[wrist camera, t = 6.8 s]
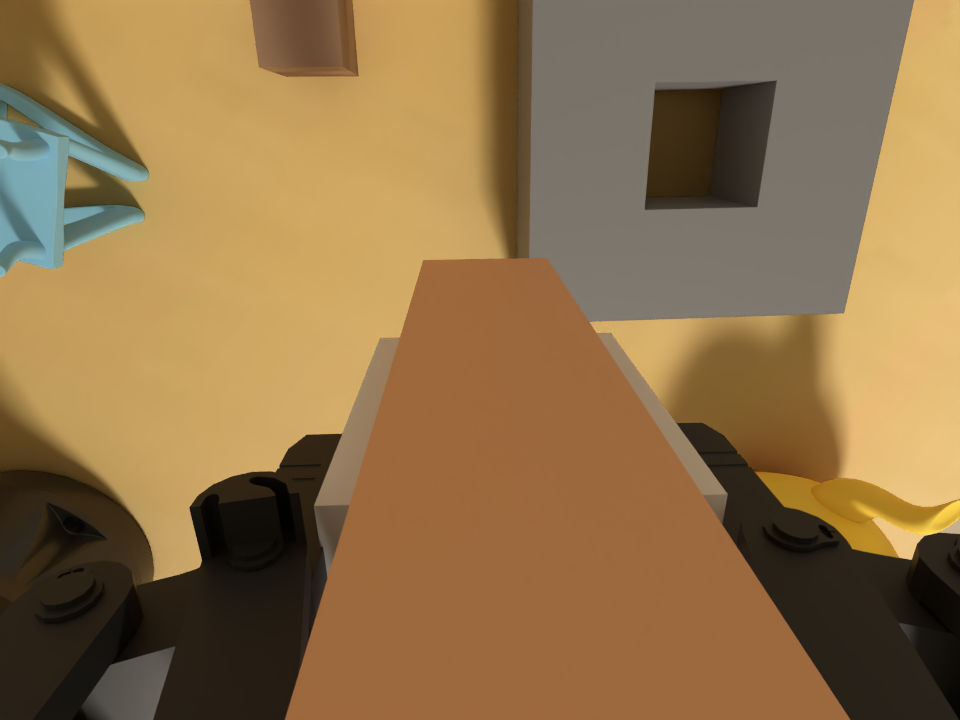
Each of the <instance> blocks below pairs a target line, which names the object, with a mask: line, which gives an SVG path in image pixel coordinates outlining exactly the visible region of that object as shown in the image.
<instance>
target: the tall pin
mask: <svg viewBox="0 0 960 720" xmlns="http://www.w3.org/2000/svg"><path fill="white" fill-rule="evenodd" d="M285 720H850V719H849V717H848V715H847V714H846V712H845V711H844V709H843V708H842V706H841V705H840V703H839V702H838V700H837V699H836V697H835V696H834V694H833V693H832V691H831V690H830V688H829V687H828V685H827V683H826V682H825V680H824V679H823V677H822V676H821V674H820V673H819V671H818V670H817V668H816V667H815V665H814V664H813V662H812V661H811V659H810V658H809V656H808V655H807V653H806V652H805V650H804V648H803V647H802V645H801V644H800V642H799V641H798V639H797V638H796V636H795V635H794V633H793V632H792V630H791V629H790V627H789V626H788V624H787V623H786V621H785V620H784V618H783V616H782V615H781V613H780V612H779V610H778V609H777V607H776V606H775V604H774V603H773V601H772V600H771V598H770V597H769V595H768V594H767V592H766V591H765V589H764V588H763V586H762V584H761V583H760V581H759V580H758V578H757V577H756V575H755V574H754V572H753V571H752V569H751V568H750V566H749V565H748V563H747V562H746V560H745V559H744V557H743V556H742V554H741V553H740V551H739V549H738V548H737V546H736V545H735V543H734V542H733V540H732V539H731V537H730V536H729V534H728V533H727V531H726V530H725V528H724V527H723V525H722V524H721V522H720V521H719V519H718V517H717V516H716V514H715V513H714V511H713V510H712V508H711V507H710V505H709V504H708V502H707V501H706V499H705V498H704V496H703V495H702V493H701V492H700V490H699V489H698V487H697V485H696V484H695V482H694V481H693V479H692V478H691V476H690V475H689V473H688V472H687V470H686V469H685V467H684V466H683V464H682V463H681V461H680V460H679V458H678V457H677V455H676V454H675V452H674V450H673V449H672V447H671V446H670V444H669V443H668V441H667V440H666V438H665V437H664V435H663V434H662V432H661V431H660V429H659V428H658V426H657V425H656V423H655V422H654V420H653V418H652V417H651V415H650V414H649V412H648V411H647V409H646V408H645V406H644V405H643V403H642V402H641V400H640V399H639V397H638V396H637V394H636V393H635V391H634V390H633V388H632V386H631V385H630V383H629V382H628V380H627V379H626V377H625V376H624V374H623V373H622V371H621V370H620V368H619V367H618V365H617V364H616V362H615V361H614V359H613V358H612V356H611V355H610V353H609V351H608V350H607V348H606V347H605V345H604V344H603V342H602V341H601V339H600V338H599V336H598V335H597V333H596V332H595V330H594V329H593V327H592V326H591V324H590V323H589V321H588V319H587V318H586V316H585V315H584V313H583V312H582V310H581V309H580V307H579V306H578V304H577V303H576V301H575V300H574V298H573V297H572V295H571V294H570V292H569V291H568V289H567V287H566V286H565V284H564V283H563V281H562V280H561V278H560V277H559V275H558V274H557V272H556V271H555V269H554V268H553V266H552V265H551V263H550V262H549V260H548V259H547V258H517V259H466V260H423V263H422V267H421V270H420V273H419V276H418V280H417V283H416V286H415V290H414V293H413V296H412V300H411V303H410V306H409V310H408V313H407V316H406V320H405V323H404V326H403V330H402V333H401V336H400V340H399V343H398V346H397V350H396V353H395V356H394V359H393V363H392V366H391V369H390V373H389V376H388V379H387V383H386V386H385V389H384V393H383V396H382V399H381V403H380V406H379V409H378V413H377V416H376V419H375V423H374V426H373V429H372V432H371V436H370V439H369V442H368V446H367V449H366V452H365V456H364V459H363V462H362V466H361V469H360V472H359V476H358V479H357V482H356V486H355V489H354V492H353V496H352V499H351V502H350V505H349V509H348V512H347V515H346V519H345V522H344V525H343V529H342V532H341V535H340V539H339V542H338V545H337V549H336V552H335V555H334V559H333V562H332V565H331V569H330V572H329V575H328V578H327V582H326V585H325V588H324V592H323V595H322V598H321V602H320V605H319V608H318V612H317V615H316V618H315V622H314V625H313V628H312V632H311V635H310V638H309V642H308V645H307V648H306V651H305V655H304V658H303V661H302V665H301V668H300V671H299V675H298V678H297V681H296V685H295V688H294V691H293V695H292V698H291V701H290V705H289V708H288V711H287V715H286V718H285Z"/></svg>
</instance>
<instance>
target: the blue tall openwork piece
mask: <svg viewBox="0 0 960 720" xmlns="http://www.w3.org/2000/svg"><path fill="white" fill-rule="evenodd" d="M7 104H9V105H10V106H12V107H13V108H15V109H16V110H18V111H19V112H21V113H22V114H24V115H25V116H27V117H28V118H30V119H31V120H33V121H34V122H36V123H37V124H39V125H40V126H41V127H43V128H44V129H43V128H40V127H36V126H33V125H29V124H26V123H22V122H18V121H15V120H11V119H7ZM68 156H71V157H73V158H75V159H78V160H80V161H82V162H85V163H87V164H89V165H92V166H94V167H96V168H98V169H101V170H103V171H105V172H107V173H109V174H112V175H114V176H116V177H119V178H121V179H124V180H127V181H131V182H132V181H144V180H146V179H148V176H149V172H148V170H147V169H146V168H145V167H144V166H142V165H140V164H138V163H136V162H134V161H132V160H130V159H128V158H127V157H125V156H123V155H121V154H119V153H118V152H116V151H114V150H112V149H110V148H109V147H107V146H106V145H104V144H102V143H101V142H99V141H98V140H96V139H94V138H93V137H91V136H90V135H88V134H86V133H85V132H83V131H82V130H80V129H79V128H77V127H76V126H74V125H72V124H71V123H69V122H68V121H66V120H65V119H63V118H62V117H60V116H58V115H57V114H55V113H54V112H52V111H51V110H49V109H47V108H46V107H44V106H43V105H41V104H39V103H38V102H36V101H35V100H33V99H31V98H30V97H28V96H26V95H25V94H23V93H21V92H19V91H17V90H15V89H13V88H12V87H9V86H6V85H3V84H0V277H1V276H4V275H6V273H7V272H8V271H9V270H10V268H11V267H12V266H13V265H14V264H15V263H16V262H17V261H22V262H25V263H29V264H33V265H37V266H41V267H45V268H49V269H55V268H58V267H61V266H63V256H64V251H66V250H69V249H71V248H73V247H75V246H77V245H80V244H82V243H84V242H87V241H89V240H92V239H94V238H96V237H99V236H102V235H104V234H107V233H109V232H112V231H114V230H117V229H119V228H122V227H125V226H127V225H130V224H134V223H140V222H142V221H144V218H145V215H144V213H143V211H142V210H140V209H139V208H136V207H133V206H125V205H99V206H82V207H69V208H64V196H65V185H66V177H67V168H68ZM64 224H66V225H64Z"/></svg>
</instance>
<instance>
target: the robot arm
mask: <svg viewBox="0 0 960 720" xmlns="http://www.w3.org/2000/svg"><path fill="white" fill-rule="evenodd" d="M597 335H598V336H599V338H600V339H601V341H602V342H603V344H604V345H605V347H606V348H607V350H608V351H609V353H610V355H611V356H612V358H613V359H614V361H615V362H616V364H617V365H618V367H619V368H620V370H621V371H622V373H623V374H624V376H625V377H626V379H627V380H628V382H629V383H630V385H631V386H632V388H633V390H634V391H635V393H636V394H637V396H638V397H639V399H640V400H641V402H642V403H643V405H644V406H645V408H646V409H647V411H648V412H649V414H650V415H651V417H652V418H653V420H654V422H655V423H656V425H657V426H658V428H659V429H660V431H661V432H662V434H663V435H664V437H665V438H666V440H667V441H668V443H669V444H670V446H671V447H672V449H673V450H674V452H675V454H676V455H677V457H678V458H679V460H680V461H681V463H682V464H683V466H684V467H685V469H686V470H687V472H688V473H689V475H690V476H691V478H692V479H693V481H694V482H695V484H696V485H697V487H698V489H699V490H700V492H701V493H702V495H703V496H704V498H705V499H706V501H707V502H708V504H709V505H710V507H711V508H712V510H713V511H714V513H715V514H716V516H717V517H718V519H719V521H720V522H721V524H722V525H723V527H724V528H725V530H726V531H727V533H728V534H729V536H730V537H731V539H732V540H733V542H734V543H735V545H736V546H737V548H738V549H739V551H740V553H741V554H742V556H743V557H744V559H745V560H746V562H747V563H748V565H749V566H750V568H751V569H752V571H753V572H754V574H755V575H756V577H757V578H758V580H759V581H760V583H761V584H762V586H763V588H764V589H765V591H766V592H767V594H768V595H769V597H770V598H771V600H772V601H773V603H774V604H775V606H776V607H777V609H778V610H779V612H780V613H781V615H782V616H783V618H784V620H785V621H786V623H787V624H788V626H789V627H790V629H791V630H792V632H793V633H794V635H795V636H796V638H797V639H798V641H799V642H800V644H801V645H802V647H803V648H804V650H805V652H806V653H807V655H808V656H809V658H810V659H811V661H812V662H813V664H814V665H815V667H816V668H817V670H818V671H819V673H820V674H821V676H822V677H823V679H824V680H825V682H826V683H827V685H828V687H829V688H830V690H831V691H832V693H833V694H834V696H835V697H836V699H837V700H838V702H839V703H840V705H841V706H842V708H843V709H844V711H845V712H846V714H847V715H848V717H849V719H850V720H960V534H949V533H936V534H932V535H927V536H924V537H923V538H922V539H921V540H920V542H919V543H918V544H917V546H916V549H915V552H914V555H913V558H912V560H908V559H902V558H897V557H891V556H886V555H880V554H874V553H869V552H863V551H859V550H855V549H852V547H851V546H850V544H849V543H848V541H847V540H846V539H845V538H844V537H843V535H842V534H841V533H840V532H839V531H838V530H837V529H836V528H835V527H833V526H832V525H830V524H829V523H827V522H825V521H824V520H822V519H821V518H819V517H817V516H814V515H812V514H809V513H806V512H804V511H801V510H798V509H793V508H788V507H784V506H783V505H782V503H781V502H780V501H779V500H778V499H777V498H776V496H775V495H774V494H773V493H772V492H771V491H770V489H769V488H768V487H767V486H766V485H765V484H764V482H763V481H762V480H761V479H760V478H759V476H758V475H757V474H756V473H755V472H754V471H753V469H752V468H751V467H748V464H747V462H746V461H745V460H744V459H743V458H742V456H741V455H740V454H737V451H736V449H735V448H734V447H733V446H732V445H731V444H730V442H729V441H728V440H727V439H726V438H725V436H723V435H722V434H720V433H718V432H717V431H715V430H713V429H712V428H710V427H708V426H707V425H705V424H703V423H676V422H675V421H674V419H673V418H672V417H671V415H670V414H669V413H668V411H667V410H666V408H665V407H664V406H663V404H662V403H661V402H660V400H659V399H658V397H657V396H656V395H655V393H654V392H653V390H652V389H651V388H650V386H649V385H648V384H647V382H646V381H645V379H644V378H643V377H642V375H641V374H640V373H639V371H638V370H637V368H636V367H635V366H634V364H633V363H632V362H631V360H630V359H629V357H628V356H627V355H626V353H625V352H624V350H623V349H622V348H621V346H620V345H619V344H618V342H617V341H616V339H615V338H614V337H613V335H612V334H611V333H597ZM399 340H400V338H380V340H379V342H378V345H377V347H376V350H375V352H374V355H373V357H372V360H371V362H370V365H369V368H368V370H367V373H366V375H365V378H364V380H363V383H362V385H361V388H360V390H359V393H358V395H357V398H356V400H355V403H354V406H353V408H352V411H351V413H350V416H349V418H348V421H347V423H346V426H345V428H344V431H343V433H342V434H319V435H306V436H305V437H303V438H302V439H301V440H299V441H298V442H297V443H296V444H294V445H293V446H292V447H290V448H289V449H288V451H287V453H286V454H285V456H284V458H283V460H282V462H281V464H280V468H279V469H277V471H276V473H275V472H271V471H270V472H250V473H246V474H241V475H237V476H232V477H230V478H228V479H225V480H223V481H221V482H218V483H216V484H214V485H212V486H211V487H209V488H208V489H206V490H205V491H204V492H202V493H201V494H199V495H198V496H197V498H196V499H195V501H194V502H193V503H192V505H191V506H190V512H191V516H192V520H193V525H194V529H195V533H196V537H197V541H198V545H199V549H200V553H201V557H202V563H201V566H200V568H198V569H195V570H192V571H189V572H186V573H183V574H180V575H176V576H172V577H168V578H164V579H160V580H156V581H153V575H154V565H153V558H152V554H151V551H150V548H149V545H148V543H147V541H146V539H145V537H144V535H143V533H142V532H141V530H140V529H139V527H138V526H137V525H136V523H135V522H134V521H133V520H132V518H131V517H130V516H129V515H128V514H127V513H126V512H125V511H124V510H123V509H122V508H120V507H119V506H118V505H117V504H116V503H114V502H113V501H112V500H110V499H109V498H107V497H106V496H104V495H103V494H101V493H100V492H98V491H96V490H94V489H92V488H90V487H88V486H86V485H84V484H82V483H79V482H77V481H74V480H71V479H68V478H65V477H62V476H58V475H54V474H49V473H43V472H35V471H9V472H1V473H0V720H285V718H286V715H287V711H288V708H289V705H290V701H291V698H292V695H293V691H294V688H295V685H296V681H297V678H298V675H299V671H300V668H301V665H302V661H303V658H304V655H305V651H306V648H307V645H308V642H309V638H310V635H311V632H312V628H313V625H314V622H315V618H316V615H317V612H318V608H319V605H320V602H321V598H322V595H323V592H324V588H325V585H326V582H327V578H328V575H329V572H330V569H331V565H332V562H333V559H334V555H335V552H336V549H337V545H338V542H339V539H340V535H341V532H342V529H343V525H344V522H345V519H346V515H347V512H348V509H349V505H350V502H351V499H352V496H353V492H354V489H355V486H356V482H357V479H358V476H359V472H360V469H361V466H362V462H363V459H364V456H365V452H366V449H367V446H368V442H369V439H370V436H371V432H372V429H373V426H374V423H375V419H376V416H377V413H378V409H379V406H380V403H381V399H382V396H383V393H384V389H385V386H386V383H387V379H388V376H389V373H390V369H391V366H392V363H393V359H394V356H395V353H396V350H397V346H398V343H399Z"/></svg>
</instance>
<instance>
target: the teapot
mask: <svg viewBox="0 0 960 720" xmlns="http://www.w3.org/2000/svg"><path fill="white" fill-rule="evenodd" d="M755 473H756V474H757V475H758V476H759V478H760V479H761V480H762V481H763V482H764V484H765V485H766V486H767V487H768V488H769V489H770V491H771V492H772V493H773V494H774V495H775V496H776V498H777V499H778V500H779V501H780V502H781V503H782V505H783V506H784V507H788V508H793V509H798V510H801V511H804V512H806V513H809V514H812V515H814V516H817V517H819V518H821V519H822V520H824V521H825V522H827V523H829V524H830V525H832V526H833V527H835V528H836V529H837V530H838V531H839V532H840V533H841V534H842V535H843V537H844V538H845V539H846V540H847V541H848V543H849V544H850V546H851V547H852V549H855V550H859V551H863V552H869V553H874V554H880V555H886V556H891V557H897V558H899V557H898V555H897V553H896V551H895V550H894V548H893V546H892V544H891V543H890V541H889V540H888V539H887V537H886V536H885V535H884V533H883V532H882V531H881V530H880V528H879V527H878V526H877V525H876V524H875V523H874V521H873V520H872V519H873V518H875V517H880V518H882V519H884V520H886V521H887V522H889V523H891V524H893V525H895V526H897V527H899V528H901V529H903V530H906V531H908V532H912V533H916V534H932V533H936V532H939V531H941V530H944V529H945V528H947V527H949V526H950V525H952V524H953V523H955V522H956V521H957V520H958V519H959V518H960V499H959V500H955V501H951V502H949V503H946V504H942V505H938V506H935V507H920V506H916V505H912V504H910V503H908V502H905V501H903V500H902V499H900V498H898V497H896V496H895V495H893V494H891V493H889V492H888V491H886V490H884V489H882V488H880V487H878V486H875V485H873V484H871V483H867V482H864V481H861V480H857V479H848V478H838V479H832V480H827V481H825V482H823V483H819V482H816V481H813V480H810V479H807V478H802V477H798V476H793V475H786V474H779V473H771V472H755Z"/></svg>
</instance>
